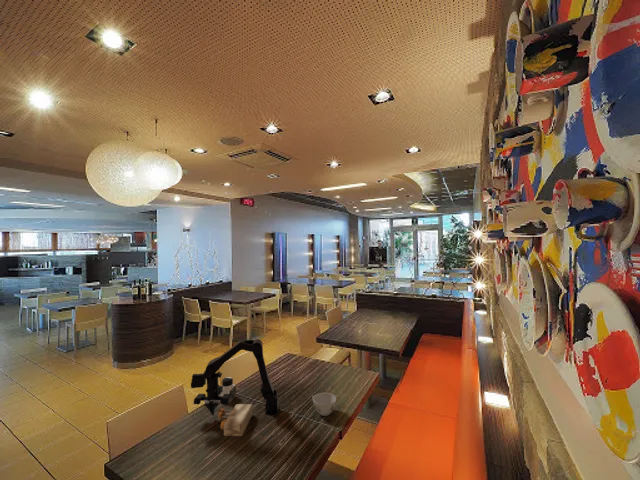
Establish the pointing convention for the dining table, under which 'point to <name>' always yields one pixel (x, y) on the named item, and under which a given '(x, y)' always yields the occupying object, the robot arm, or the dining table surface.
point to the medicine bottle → (228, 387)
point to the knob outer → (222, 424)
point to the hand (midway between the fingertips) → (213, 415)
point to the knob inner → (224, 413)
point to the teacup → (324, 403)
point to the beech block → (238, 420)
